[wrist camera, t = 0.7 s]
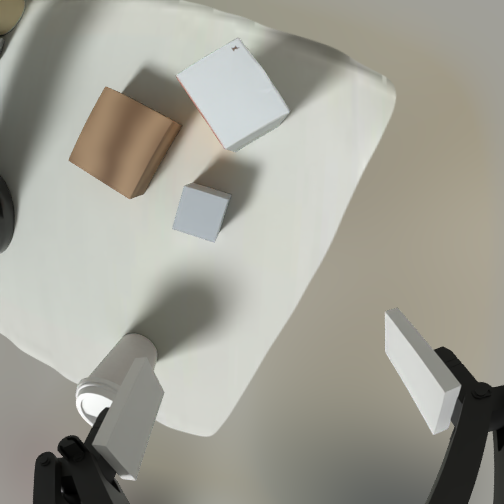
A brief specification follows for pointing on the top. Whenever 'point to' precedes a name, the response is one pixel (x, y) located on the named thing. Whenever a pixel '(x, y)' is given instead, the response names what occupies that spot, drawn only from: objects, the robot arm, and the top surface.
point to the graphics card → (1, 43)
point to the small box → (234, 95)
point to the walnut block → (123, 143)
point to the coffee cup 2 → (111, 375)
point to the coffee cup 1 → (10, 14)
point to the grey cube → (201, 211)
